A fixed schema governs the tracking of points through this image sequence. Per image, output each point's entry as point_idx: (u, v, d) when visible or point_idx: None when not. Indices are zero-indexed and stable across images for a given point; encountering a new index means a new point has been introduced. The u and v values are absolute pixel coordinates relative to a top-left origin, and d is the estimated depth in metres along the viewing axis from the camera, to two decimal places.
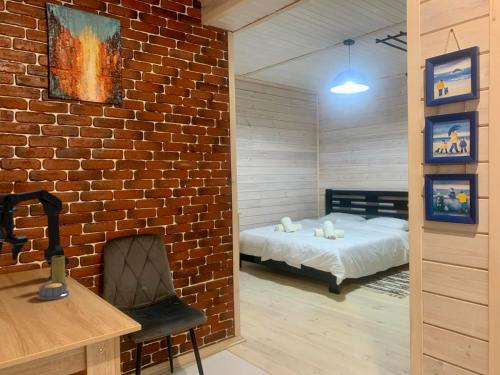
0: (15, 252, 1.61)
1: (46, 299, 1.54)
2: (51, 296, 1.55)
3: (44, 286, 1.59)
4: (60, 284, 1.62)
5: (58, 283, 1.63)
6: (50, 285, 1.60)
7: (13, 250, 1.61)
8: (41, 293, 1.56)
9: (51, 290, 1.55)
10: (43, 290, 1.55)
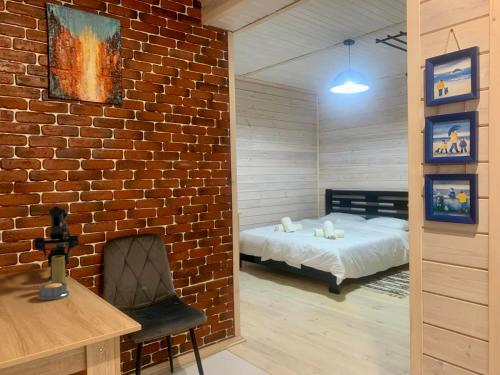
0: (70, 248, 1.82)
1: (46, 299, 1.54)
2: (51, 296, 1.55)
3: (44, 286, 1.59)
4: (60, 284, 1.62)
5: (58, 283, 1.63)
6: (50, 285, 1.60)
7: (70, 246, 1.82)
8: (41, 293, 1.56)
9: (51, 290, 1.55)
10: (43, 290, 1.55)
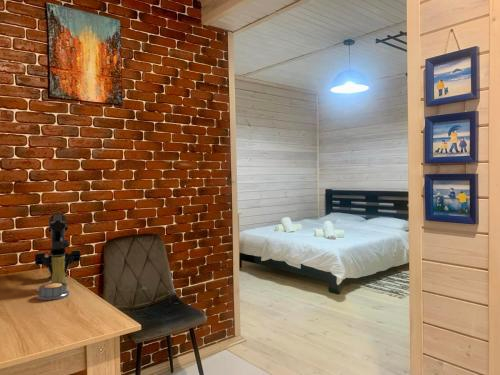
0: (68, 265, 1.74)
1: (46, 299, 1.54)
2: (51, 296, 1.55)
3: (44, 286, 1.59)
4: (60, 284, 1.62)
5: (58, 283, 1.63)
6: (50, 285, 1.60)
7: (68, 262, 1.74)
8: (41, 293, 1.56)
9: (51, 290, 1.55)
10: (43, 290, 1.55)
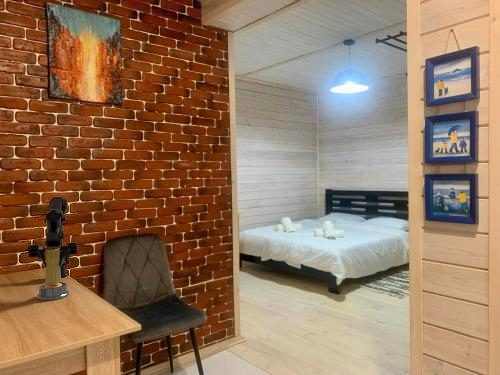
0: (63, 258, 1.62)
1: (46, 299, 1.54)
2: (51, 296, 1.55)
3: (44, 286, 1.59)
4: (60, 284, 1.62)
5: (58, 283, 1.63)
6: (50, 285, 1.60)
7: (63, 255, 1.62)
8: (41, 293, 1.56)
9: (51, 290, 1.55)
10: (43, 290, 1.55)
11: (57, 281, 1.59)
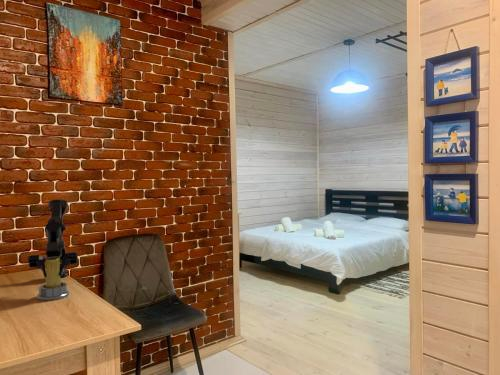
0: (63, 268, 1.62)
1: (46, 299, 1.54)
2: (51, 296, 1.55)
3: None
4: None
5: None
6: None
7: (63, 264, 1.62)
8: (41, 293, 1.56)
9: (51, 290, 1.55)
10: (43, 290, 1.55)
11: None
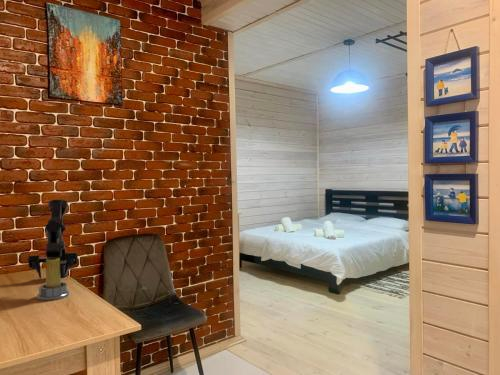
0: (68, 268, 1.63)
1: (46, 299, 1.54)
2: (51, 296, 1.55)
3: None
4: None
5: None
6: None
7: (68, 265, 1.63)
8: (41, 293, 1.56)
9: (51, 290, 1.55)
10: (43, 290, 1.55)
11: None
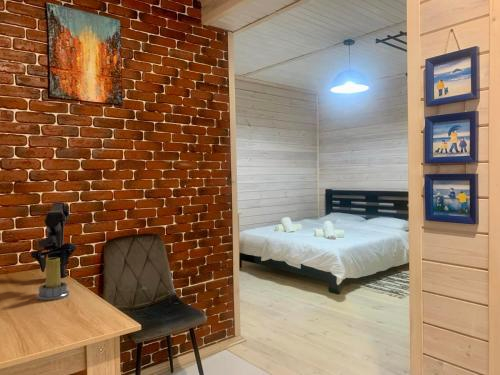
0: (64, 259, 1.70)
1: (46, 299, 1.54)
2: (51, 296, 1.55)
3: None
4: None
5: None
6: None
7: (63, 256, 1.70)
8: (41, 293, 1.56)
9: (51, 290, 1.55)
10: (43, 290, 1.55)
11: None
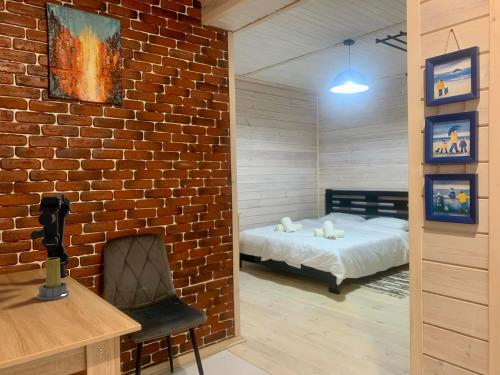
0: (49, 252, 1.71)
1: (46, 299, 1.54)
2: (51, 296, 1.55)
3: None
4: None
5: None
6: None
7: None
8: (41, 293, 1.56)
9: (51, 290, 1.55)
10: (43, 290, 1.55)
11: None
